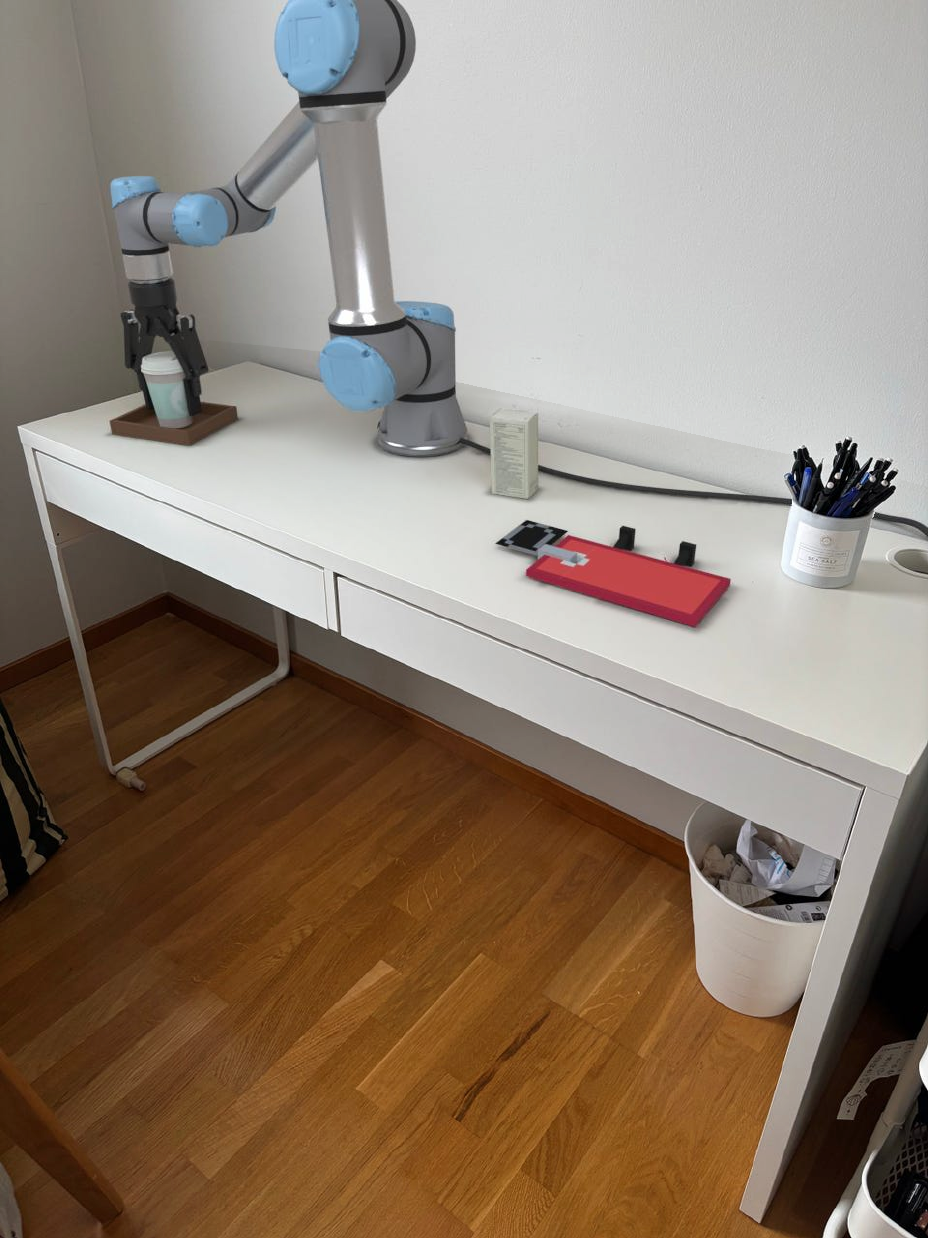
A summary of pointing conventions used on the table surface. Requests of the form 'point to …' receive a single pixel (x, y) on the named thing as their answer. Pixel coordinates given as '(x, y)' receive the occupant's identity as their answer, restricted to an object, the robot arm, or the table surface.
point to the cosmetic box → (514, 452)
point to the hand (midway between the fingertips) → (174, 410)
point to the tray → (148, 427)
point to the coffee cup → (167, 389)
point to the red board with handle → (620, 572)
